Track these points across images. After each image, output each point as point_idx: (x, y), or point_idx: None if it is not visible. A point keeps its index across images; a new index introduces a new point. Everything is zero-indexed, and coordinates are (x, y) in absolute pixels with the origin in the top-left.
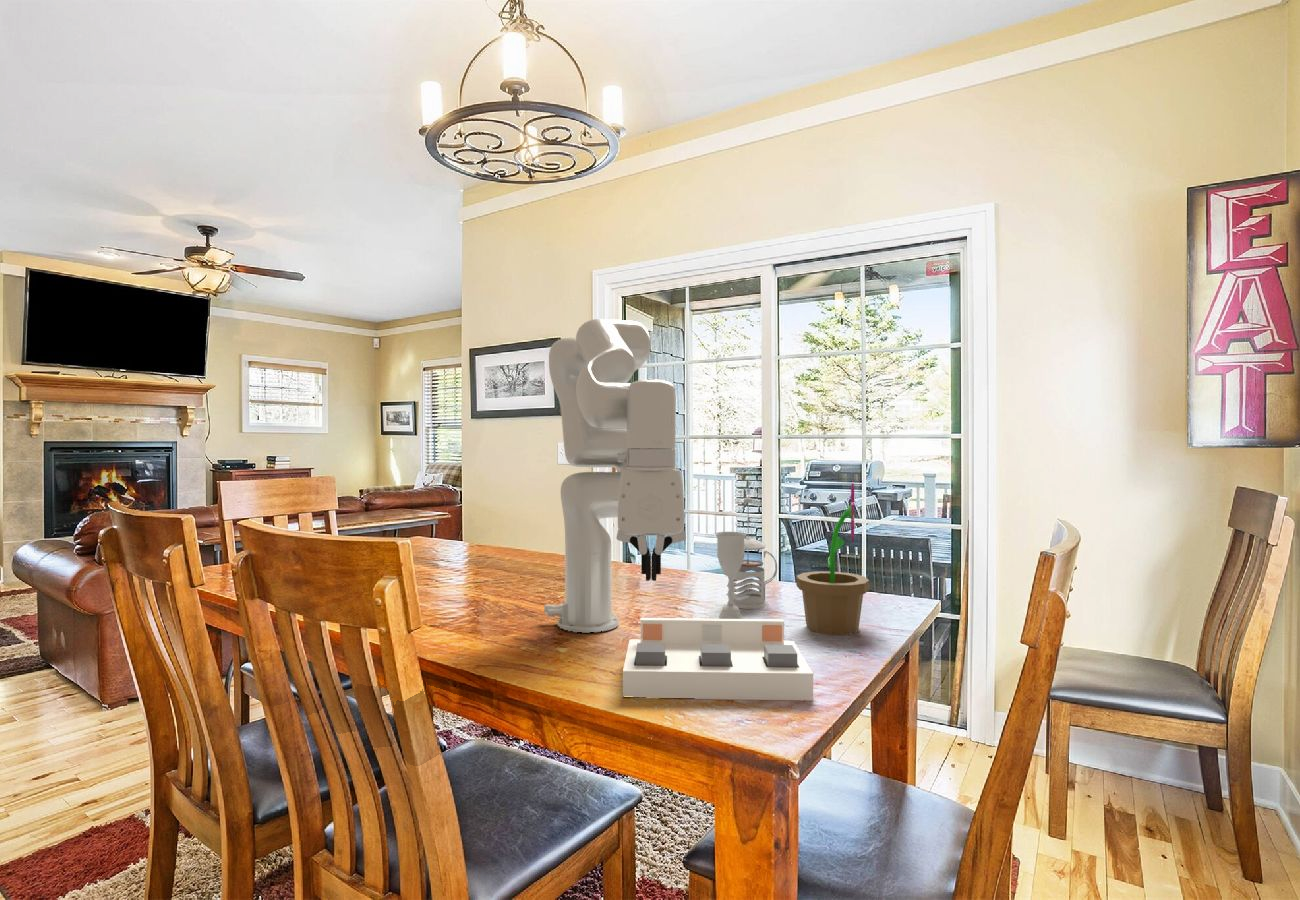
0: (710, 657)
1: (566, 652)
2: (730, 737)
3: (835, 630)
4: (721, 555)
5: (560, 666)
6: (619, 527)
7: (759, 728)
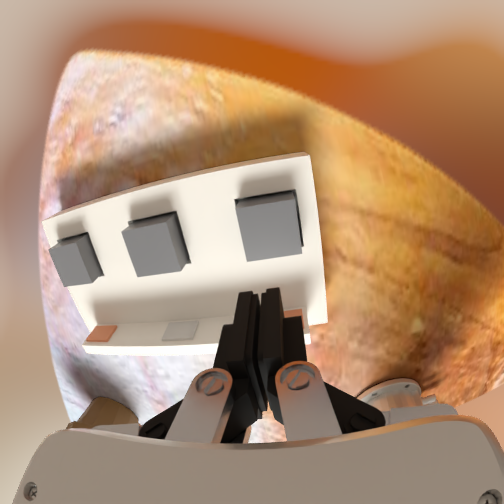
0: (155, 221)
1: (412, 317)
2: (128, 66)
3: (103, 400)
4: None
5: (417, 265)
6: (493, 435)
7: (99, 104)
